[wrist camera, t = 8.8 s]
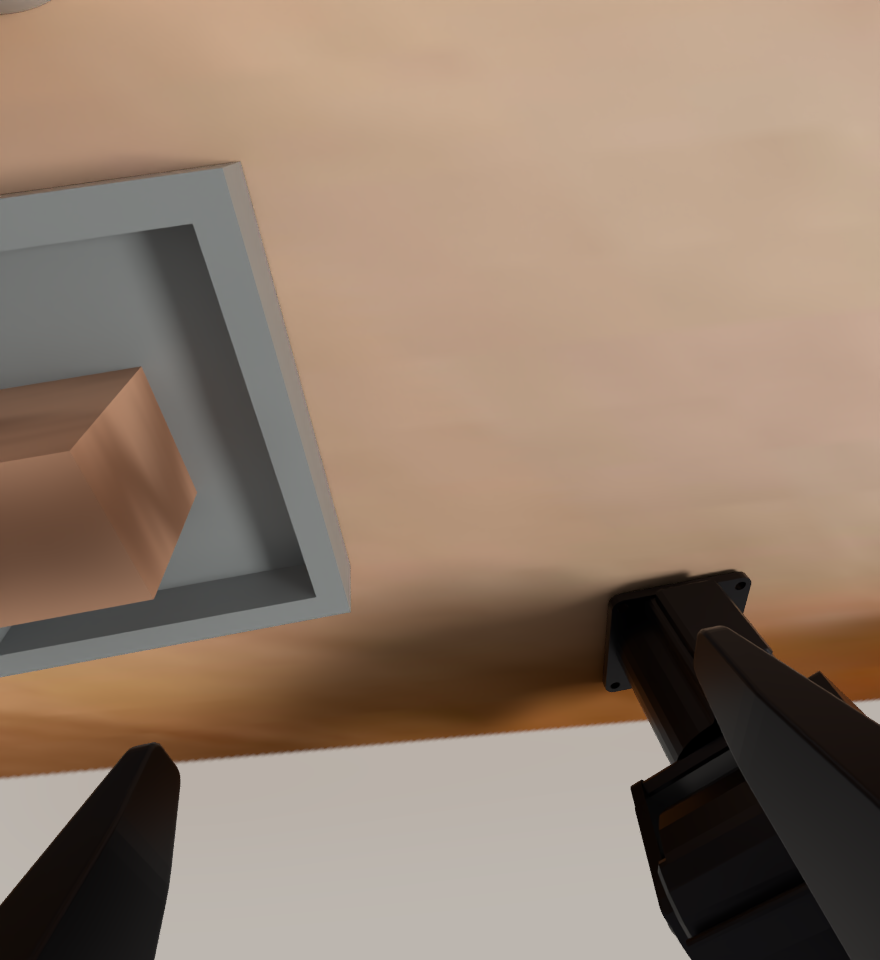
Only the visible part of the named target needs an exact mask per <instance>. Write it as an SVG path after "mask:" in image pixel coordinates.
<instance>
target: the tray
mask: <svg viewBox="0 0 880 960" xmlns="http://www.w3.org/2000/svg"><path fill="white" fill-rule="evenodd" d="M135 367H142V369H143V371H144V373H145V376H146V378H147V380H148V383H149V385H150V387H151V389H152V392H153V394H154V396H155V398H156V401H157V403H158V405H159V407H160V410H161V412H162V414H163V417H164V419H165V421H166V423H167V426H168V428H169V430H170V432H171V435H172V437H173V439H174V441H175V444H176V446H177V448H178V450H179V453H180V455H181V457H182V460H183V462H184V464H185V466H186V469H187V471H188V473H189V475H190V478H191V480H192V482H193V484H194V487H195V489H196V491H197V494H196V497H195V499H194V502H193V504H192V507H191V509H190V512H189V514H188V516H187V519H186V521H185V524H184V526H183V529H182V531H181V534H180V536H179V539H178V541H177V544H176V546H175V548H174V551H173V553H172V556H171V558H170V561H169V563H168V566H167V568H166V571H165V573H164V575H163V578H162V580H161V583H160V585H159V588H158V590H157V593H156V595H155V598H154V599H153V600H147V601H142V602H136V603H131V604H126V605H120V606H115V607H109V608H104V609H99V610H93V611H88V612H82V613H77V614H72V615H66V616H61V617H56V618H50V619H45V620H39V621H34V622H29V623H23V624H18V625H12V626H7V627H2V628H0V677H5V676H10V675H15V674H21V673H26V672H31V671H37V670H42V669H48V668H53V667H58V666H64V665H69V664H74V663H80V662H85V661H90V660H96V659H101V658H107V657H112V656H117V655H123V654H128V653H133V652H139V651H144V650H150V649H155V648H160V647H166V646H171V645H176V644H182V643H187V642H193V641H198V640H203V639H209V638H214V637H219V636H225V635H230V634H235V633H241V632H246V631H252V630H257V629H262V628H268V627H273V626H278V625H284V624H289V623H295V622H300V621H305V620H311V619H316V618H321V617H327V616H332V615H338V614H343V613H348V612H351V576H350V562H349V559H348V555H347V551H346V548H345V544H344V540H343V537H342V533H341V529H340V526H339V522H338V518H337V515H336V511H335V507H334V504H333V500H332V496H331V493H330V489H329V485H328V482H327V478H326V474H325V471H324V467H323V463H322V459H321V456H320V452H319V448H318V445H317V441H316V437H315V434H314V430H313V426H312V423H311V419H310V415H309V412H308V408H307V404H306V401H305V397H304V393H303V390H302V386H301V382H300V379H299V375H298V371H297V368H296V364H295V360H294V357H293V353H292V349H291V346H290V342H289V338H288V334H287V331H286V327H285V323H284V320H283V316H282V312H281V309H280V305H279V301H278V298H277V294H276V290H275V287H274V283H273V279H272V276H271V272H270V268H269V265H268V261H267V257H266V254H265V250H264V246H263V243H262V239H261V235H260V232H259V228H258V224H257V221H256V217H255V213H254V209H253V206H252V202H251V198H250V195H249V191H248V187H247V184H246V180H245V176H244V173H243V169H242V165H241V162H233V163H226V164H219V165H212V166H204V167H197V168H190V169H183V170H176V171H168V172H161V173H154V174H147V175H140V176H132V177H125V178H118V179H111V180H104V181H96V182H89V183H82V184H75V185H68V186H61V187H53V188H46V189H39V190H32V191H25V192H17V193H10V194H3V195H0V389H7V388H13V387H19V386H25V385H31V384H37V383H43V382H49V381H55V380H62V379H68V378H74V377H80V376H86V375H92V374H98V373H104V372H110V371H117V370H123V369H129V368H135Z"/></svg>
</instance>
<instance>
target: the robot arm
mask: <svg viewBox="0 0 880 960" xmlns="http://www.w3.org/2000/svg"><path fill="white" fill-rule="evenodd" d="M750 586H751V580H750V579H749V578H748V576H747V575H746V574H745V573H743V572H734V573H728V574H723V575H718V576H713V577H707V578H702V579H697V580H691V581H686V582H681V583H676V584H670V585H665V586H660V587H655V588H649V589H644V590H639V591H633V592H628V593H623V594H619V595H616V596H614V597H613V598H611V600H610V601H609V604H608V616H607V629H606V642H605V656H604V669H603V684H604V686H605V688H606V690H607V691H609V692H616V691H621V690H626V689H631V688H632V689H633V691H634V693H635V695H636V697H637V699H638V701H639V703H640V705H641V707H642V709H643V711H644V713H645V715H646V717H647V719H648V720H649V722H650V724H651V726H652V728H653V730H654V732H655V734H656V736H657V738H658V740H659V742H660V744H661V746H662V748H663V750H664V752H665V754H666V756H667V758H668V760H669V762H670V764H671V765H670V766H668V767H666V768H665V769H663V770H661V771H660V772H658V773H657V774H655V775H653V776H652V777H650V778H648V779H647V780H645V781H643V780H640V781H638V782H637V783H635V784H634V785H632V786H631V792H632V796H633V800H634V804H635V811H636V815H637V819H638V823H639V827H640V831H641V835H642V839H643V843H644V847H645V851H646V855H647V859H648V863H649V867H650V871H651V875H652V878H653V882H654V886H655V890H656V894H657V898H658V902H659V906H660V909H661V912H662V914H663V916H664V918H665V919H666V921H667V923H668V926H669V928H670V929H671V931H672V932H673V934H674V935H676V937H677V938H678V940H679V942H680V943H681V945H682V947H683V948H684V949H685V951H686V953H687V954H688V956H689V957H690V958H691V960H880V724H878V723H876V722H875V721H873V720H871V719H870V718H869V717H867V716H866V715H865V714H864V713H863V712H862V711H861V710H860V709H859V708H858V707H857V706H856V705H855V704H854V703H853V702H852V701H851V700H850V699H849V698H847V697H846V696H845V695H844V694H843V693H842V692H841V691H840V690H839V689H838V688H837V687H836V686H835V685H834V684H833V683H832V682H831V681H830V680H829V679H828V678H827V677H826V676H824V675H823V674H822V673H821V672H820V671H818V672H816V673H815V674H813V675H811V676H810V677H808V678H806V677H805V676H803V675H801V674H800V673H798V672H797V671H795V670H794V669H792V668H791V667H789V666H787V665H786V664H784V663H783V662H781V661H780V660H778V659H776V658H775V657H774V655H773V654H772V653H773V651H772V649H771V648H770V647H769V645H768V644H767V643H766V642H765V640H764V639H763V638H762V637H761V635H760V634H759V633H758V632H757V631H756V629H755V628H754V627H753V626H752V624H751V623H750V622H749V621H748V619H747V618H746V617H745V616H744V614H743V612H744V609H745V605H746V601H747V597H748V594H749V590H750ZM179 792H180V773H179V770H178V768H177V766H176V765H175V764H174V762H173V761H172V760H171V758H170V757H169V755H168V754H167V753H166V751H165V750H164V749H163V747H162V746H161V745H160V744H158V743H156V742H153V743H148V744H143V745H138V746H135V747H132V748H130V749H129V750H128V751H127V752H126V753H125V754H124V755H123V756H122V758H121V759H120V760H119V761H118V762H117V764H116V765H115V766H114V767H113V769H112V770H111V771H110V772H109V774H108V775H107V776H106V777H105V778H104V780H103V781H102V782H101V783H100V784H99V786H98V787H97V788H96V789H95V790H94V792H93V793H92V794H91V796H90V797H89V798H88V799H87V800H86V801H85V803H84V804H83V805H82V806H81V807H80V809H79V810H78V811H77V812H76V814H75V815H74V816H73V817H72V818H71V820H70V821H69V822H68V823H67V825H66V826H65V827H64V828H63V829H62V831H61V832H60V833H59V834H58V835H57V837H56V838H55V839H54V841H53V842H52V843H51V844H50V845H49V847H48V848H47V849H46V850H45V851H44V853H43V854H42V855H41V856H40V857H39V859H38V860H37V861H36V862H35V863H34V865H33V866H32V867H31V868H30V870H29V871H28V872H27V873H26V875H25V876H24V877H23V878H22V879H21V881H20V882H19V883H18V884H17V886H16V887H15V888H14V889H13V890H12V892H11V893H10V894H9V895H8V896H7V898H6V899H5V900H4V901H3V902H2V904H1V905H0V960H154V958H155V954H156V949H157V944H158V939H159V934H160V929H161V924H162V919H163V915H164V910H165V905H166V900H167V894H168V889H169V883H170V874H171V867H172V858H173V848H174V839H175V830H176V820H177V811H178V801H179Z"/></svg>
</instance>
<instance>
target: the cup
mask: <svg viewBox="0 0 880 960" xmlns="http://www.w3.org/2000/svg"><path fill="white" fill-rule="evenodd" d="M49 1H50V0H0V14H10V13H17V12H22V11H26V10H30V9H33V8H36V7H38V6H41V5H43V4H45V3H47V2H49Z"/></svg>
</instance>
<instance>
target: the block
mask: <svg viewBox="0 0 880 960" xmlns="http://www.w3.org/2000/svg"><path fill="white" fill-rule="evenodd" d="M196 494H197V491H196V489H195V487H194V484H193V482H192V480H191V478H190V475H189V473H188V471H187V469H186V466H185V464H184V462H183V460H182V457H181V455H180V453H179V450H178V448H177V446H176V444H175V441H174V439H173V437H172V435H171V432H170V430H169V428H168V426H167V423H166V421H165V419H164V417H163V414H162V412H161V410H160V407H159V405H158V403H157V401H156V398H155V396H154V394H153V392H152V389H151V387H150V385H149V383H148V380H147V378H146V376H145V373H144V371H143V369H142V367H135V368H129V369H123V370H117V371H110V372H104V373H98V374H92V375H86V376H80V377H74V378H68V379H62V380H55V381H49V382H43V383H37V384H31V385H25V386H19V387H13V388H7V389H0V628H2V627H7V626H12V625H18V624H23V623H29V622H34V621H39V620H45V619H50V618H56V617H61V616H66V615H72V614H77V613H82V612H88V611H93V610H99V609H104V608H109V607H115V606H120V605H126V604H131V603H136V602H142V601H147V600H153V599H154V598H155V595H156V593H157V590H158V588H159V585H160V583H161V580H162V578H163V575H164V573H165V571H166V568H167V566H168V563H169V561H170V558H171V556H172V553H173V551H174V548H175V546H176V544H177V541H178V539H179V536H180V534H181V531H182V529H183V526H184V524H185V521H186V519H187V516H188V514H189V512H190V509H191V507H192V504H193V502H194V499H195V497H196Z"/></svg>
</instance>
